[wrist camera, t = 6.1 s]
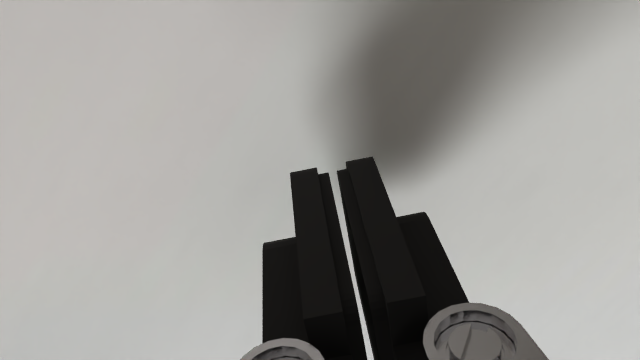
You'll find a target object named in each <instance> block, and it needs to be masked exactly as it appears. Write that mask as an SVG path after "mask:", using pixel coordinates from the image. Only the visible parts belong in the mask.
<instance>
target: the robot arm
mask: <svg viewBox="0 0 640 360" xmlns="http://www.w3.org/2000/svg"><path fill="white" fill-rule="evenodd" d="M346 167H347V169H344V170H339V171H337V175H338V181H339V186H340V192H341V198H342V203H343V209H344V215H345V220H346V226H347V231H348V237H349V243H350V248H351V254H352V259H353V265H354V271H355V276H356V281H357V286H358V290H359V295H360V299H361V304H362V308H363V312H364V317H365V321H366V326H367V330H368V334H369V339H370V343H371V348H372V352H373V356H374V360H549V359H548V358H547V357H546V355H545V354H544V353H543V352H542V350H541V349H540V348H539V347H538V345H537V344H536V343H535V342H534V340H533V339H532V338H531V337H530V335H529V334H528V333H527V332H526V330H525V329H524V328H523V327H522V325H521V324H520V323H519V322H518V321H517V320H515V319H514V318H513V317H512V316H511V315H510V314H508V313H506V312H504V311H502V310H501V309H499V308H497V307H493V306H489V305H486V304H482V303H469V301H468V299H467V297H466V295H465V293H464V291H463V289H462V287H461V285H460V282H459V280H458V278H457V276H456V274H455V272H454V270H453V268H452V266H451V263H450V261H449V259H448V257H447V255H446V253H445V251H444V249H443V247H442V245H441V242H440V240H439V238H438V236H437V234H436V232H435V230H434V228H433V226H432V224H431V221H430V219H429V217H428V216H427V214H426V213H425V212H421V213H416V214H411V215H405V216H400V217H396V216H395V213H394V210H393V208H392V205H391V203H390V200H389V197H388V195H387V192H386V189H385V187H384V184H383V182H382V179H381V176H380V174H379V171H378V169H377V166H376V163H375V161H374V158H373V157H368V158H363V159H358V160H353V161H348V162H346ZM290 178H291V189H292V200H293V211H294V222H295V233H296V237H292V238H287V239H282V240H277V241H272V242H267V243H264V244H263V344H261V345H259V346H256V347H254V348H253V349H252V350H250V351H249V352H248V353H247V354H245V355H244V356H243V357H242V358H241V359H240V360H367V356H366V350H365V345H364V339H363V334H362V328H361V323H360V317H359V312H358V307H357V302H356V297H355V293H354V288H353V284H352V279H351V274H350V270H349V265H348V260H347V256H346V251H345V247H344V242H343V237H342V233H341V228H340V224H339V219H338V214H337V210H336V205H335V200H334V196H333V191H332V187H331V182H330V177H329V173H323V174H318V172H317V168H312V169H307V170H302V171H297V172H291V173H290Z"/></svg>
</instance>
